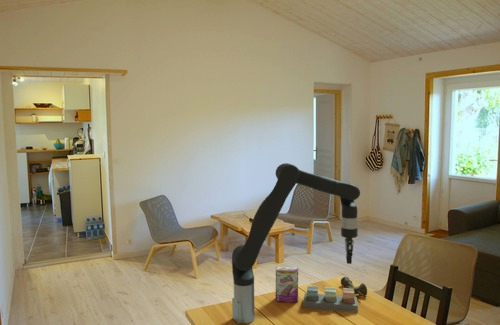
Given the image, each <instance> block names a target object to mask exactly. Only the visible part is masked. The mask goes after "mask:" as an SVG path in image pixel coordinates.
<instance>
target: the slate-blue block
mask: <svg viewBox="0 0 500 325" xmlns="http://www.w3.org/2000/svg"><path fill="white" fill-rule="evenodd" d="M306 287H307V288H306V293H307V300H313V301H318V294H319V287H318V285H317V286H316V285H315V286H314V285H307V286H306Z"/></svg>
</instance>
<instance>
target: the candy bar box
mask: <svg viewBox="0 0 500 325" xmlns="http://www.w3.org/2000/svg"><path fill="white" fill-rule="evenodd" d="M275 302H277V303H278V302H280V303H299V267H292V266H289V267H288V266H276V267H275Z"/></svg>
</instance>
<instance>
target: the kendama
mask: <svg viewBox="0 0 500 325" xmlns="http://www.w3.org/2000/svg"><path fill="white" fill-rule="evenodd" d="M340 284H341V286H343V287H344V288H351V289H354V296H355V295H360V296H362V297H363V296H367V295H368V289H367V286H366V284H365V283H361V284H360V285H359V286H354V285H353V281H352V280H350V278H349V277H348V276H343V277H342V278H341V279H340Z"/></svg>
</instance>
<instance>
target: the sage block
mask: <svg viewBox="0 0 500 325" xmlns="http://www.w3.org/2000/svg"><path fill="white" fill-rule="evenodd" d="M324 293H325V301H328V302H336V295H337V290H336V287H334V286H333V287H331V286H325V287H324Z"/></svg>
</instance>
